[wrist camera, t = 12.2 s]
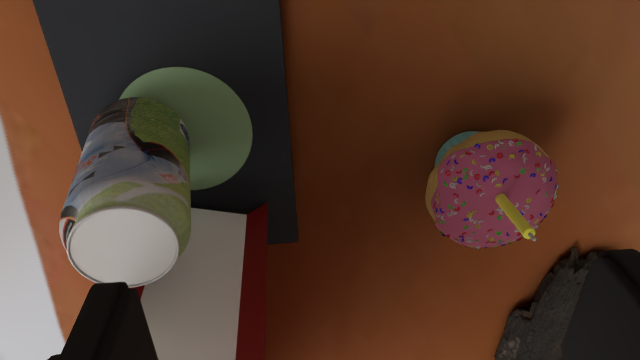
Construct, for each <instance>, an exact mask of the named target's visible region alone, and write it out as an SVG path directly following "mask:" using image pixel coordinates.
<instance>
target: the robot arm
mask: <svg viewBox="0 0 640 360" xmlns="http://www.w3.org/2000/svg"><path fill="white" fill-rule="evenodd" d="M562 354H563V357H564V359H565V360H640V252H638V251H637V250H634V249H623V250H608V251H603V252H602V253H600V255H599V257H598V258H596V259H594V260H593V262H592V264H591V266H590V269H589V272H588V274H587V277H586V280H585V282H584V285H583V288H582V290H581V293H580V296H579V299H578V301H577V304H576V307H575V309H574V312H573V315H572V317H571V320H570V323H569V325H568V328H567V331H566V333H565V336H564V339H563V342H562ZM48 360H158V357H157V354H156V350H155V347H154V344H153V340H152V337H151V334H150V330H149V327H148V324H147V320H146V317H145V314H144V310H143V307H142V304H141V301H140V297H139V294H138V291H137V290H136V289H135V288H133V289H129V287H128V285H127V283H126V282H112V283H96V284H94V285H92V287H91V289H90V290H89V293H88V295H87V297H86V299H85V302H84V304H83V306H82V308H81V310H80V313H79V315H78V317H77V319H76V322H75V324H74V326H73V328H72V330H71V333H70V335H69V337H68V339H67V342H66V344H65V346H64V348H63V351H62V353H61V354H59V355H54V356H51V357H50V358H49V359H48Z"/></svg>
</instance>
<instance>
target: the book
mask: <svg viewBox="0 0 640 360" xmlns="http://www.w3.org/2000/svg"><path fill="white" fill-rule="evenodd" d="M267 204H268V202H267V203H265V204H264V205H262V206H260V207H259V208H257V209H255V210H254V211H252V212H250V213H249V214H247V215H245V214H237V213H229V212H221V211H213V210H205V209H197V208H191V233H190V239H189V241H188V244H187V247H186V248H185V250H184V252H183V253H182V255H181V256H180V257H179V258H178V259H177V260H176V262H175V264H174V265H173V267H172V268H171V269H170V270H169V271H168V272H167V273H166V274H165V275H164V276H162V277H161V278H159V279H157V280H156V281H154V282H151V283H149V284H146V285H142V286H138V287H130V288H129V289H133V288H135V289H136V290H137V291H138V294H139V297H140V301H141V304H142V307H143V310H144V314H145V317H146V320H147V324H148V327H149V330H150V334H151V337H152V340H153V344H154V347H155V350H156V354H157V357H158V360H264V355H265V304H266V254H267Z"/></svg>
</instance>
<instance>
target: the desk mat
mask: <svg viewBox="0 0 640 360" xmlns="http://www.w3.org/2000/svg"><path fill="white" fill-rule="evenodd" d="M33 3H34V6H35V9H36V12H37V15H38V18H39V21H40V24H41V27H42V30H43V33H44V37H45V40H46V43H47V46H48V49H49V52H50V55H51V58H52V61H53V64H54V67H55V70H56V73H57V76H58V79H59V82H60V85H61V88H62V91H63V94H64V98H65V101H66V104H67V107H68V110H69V113H70V116H71V119H72V122H73V125H74V128H75V131H76V134H77V137H78V140H79V143H80V146H81V149H82V151H83V148H84V145H85V142H86V139H87V137H88V134H89V131H90V128H91V125H92V123H93V121H94V119H95V117H96V116H97V114H98V113H99V112H100V111H101V110H102V109H103V108H104V107H106V106H107V105H109V104H111V103H112V102H114V101H117V100H120V99H124V98H130V97H142V98H149V99H153V100H156V101H159V102H161V103H163V104H165V105H167V106H168V107H170V108H171V109H173V110H174V111H175V112H176V113H177V114H178V115H179V116H180V117H181V119H182V120H183V121H184V123H185V125H186V127H187V130H188V133H189V141H190V196H191V208H197V209H205V210H213V211H221V212H229V213H237V214H245V215H247V214H249V213H250V212H252V211H254V210H255V209H257V208H259V207H260V206H262V205H264V204H265V203H267V202H268V204H267V244H279V243H291V242H298V231H297V218H296V205H295V192H294V179H293V166H292V153H291V141H290V128H289V115H288V102H287V89H286V76H285V63H284V50H283V37H282V24H281V12H280V0H33Z"/></svg>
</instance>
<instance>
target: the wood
mask: <svg viewBox="0 0 640 360" xmlns="http://www.w3.org/2000/svg"><path fill="white" fill-rule="evenodd" d="M602 252H603V251H601V252H594V251H592V252H591V253H589V254H588V256H587V257H586V258H585V259H582V258H581V259H579V260H578V255H579V251H578V252H577V249H576V247H572V251H571V255H570V256H569V257H568V258H565V259H562V260H559V262H558V263H557V265H556V266H555V268H554V269H553V271H552V272H550V273H549V274H548V275H547V276H546V277H545V278H544V279H543V280H542V282H541V284H540V286H539V288H538V290H537V292H536V295H535V297H534V299H533V303H532V304H531V308H530V309H521V308H516V309H515V310H514V311H513V312H512V313H511V314H510V315H509V317H508V321H507V324H506V326H505V329H504V330H505V333H504V336H503V337H502V339H501V341H500V343H499V346H498V349H497V352H496V354H495V356H494V357H495V360H565V359H564V357H563V354H562V342H563V339H564V336H565V333H566V331H567V328H568V325H569V323H570V320H571V317H572V315H573V312H574V309H575V307H576V304H577V301H578V299H579V296H580V293H581V290H582V288H583V285H584V282H585V280H586V277H587V274H588V272H589V269H590V266H591V264H592V262H593V260H594V259H596V258H598V257H599V255H600V253H602Z"/></svg>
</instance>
